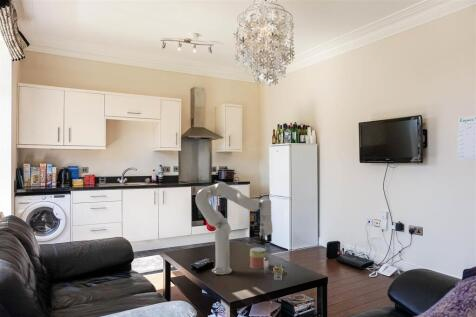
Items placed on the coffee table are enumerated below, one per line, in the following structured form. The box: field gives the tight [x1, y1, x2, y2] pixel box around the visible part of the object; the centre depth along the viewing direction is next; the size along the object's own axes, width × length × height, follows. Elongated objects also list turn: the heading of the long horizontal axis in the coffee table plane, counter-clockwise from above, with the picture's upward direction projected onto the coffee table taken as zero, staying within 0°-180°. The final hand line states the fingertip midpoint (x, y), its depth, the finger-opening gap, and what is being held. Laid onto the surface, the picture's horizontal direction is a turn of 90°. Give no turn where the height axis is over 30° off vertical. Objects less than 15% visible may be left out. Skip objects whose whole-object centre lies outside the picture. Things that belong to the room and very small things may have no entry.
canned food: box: [249, 247, 267, 270], centre depth 232 cm, size 11×11×12 cm
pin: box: [263, 257, 270, 275], centre depth 218 cm, size 4×4×10 cm
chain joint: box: [272, 263, 284, 281], centre depth 217 cm, size 27×7×2 cm, turn 172°
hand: (266, 242), depth 218 cm, fingers open, 9 cm apart
